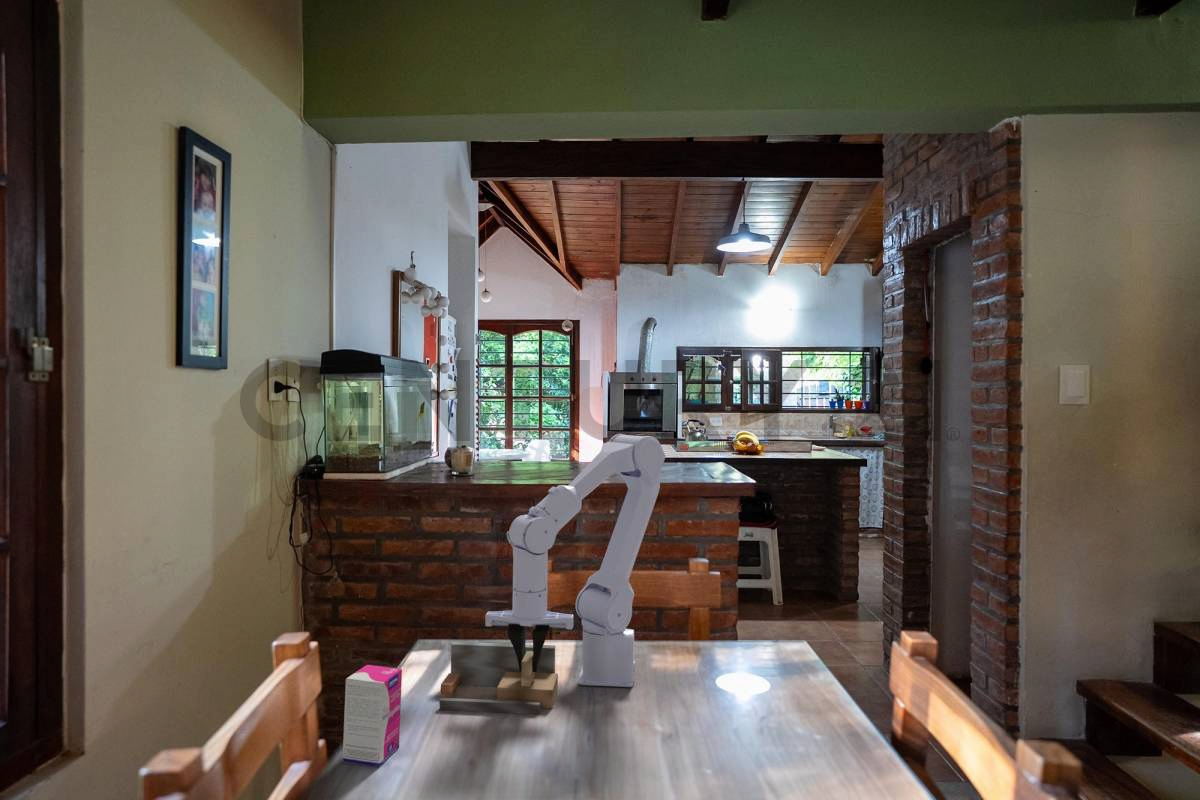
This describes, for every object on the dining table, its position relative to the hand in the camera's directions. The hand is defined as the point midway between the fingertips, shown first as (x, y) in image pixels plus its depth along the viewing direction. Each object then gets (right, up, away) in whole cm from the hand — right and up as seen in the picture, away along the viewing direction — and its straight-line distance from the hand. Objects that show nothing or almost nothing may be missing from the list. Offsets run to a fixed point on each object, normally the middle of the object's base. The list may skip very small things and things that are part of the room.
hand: (528, 669), depth 120 cm
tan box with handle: (0, -5, 0) cm, 5 cm away
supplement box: (-20, -5, -20) cm, 29 cm away
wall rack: (-5, -4, 0) cm, 7 cm away
